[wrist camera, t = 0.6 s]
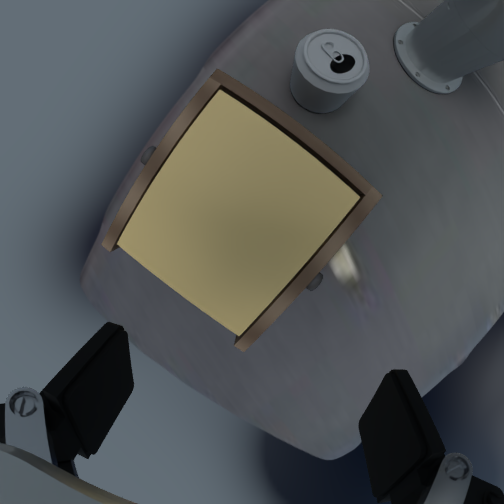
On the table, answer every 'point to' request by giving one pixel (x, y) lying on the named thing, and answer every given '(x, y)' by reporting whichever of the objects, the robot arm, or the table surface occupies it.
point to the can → (328, 70)
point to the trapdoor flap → (234, 213)
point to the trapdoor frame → (299, 134)
